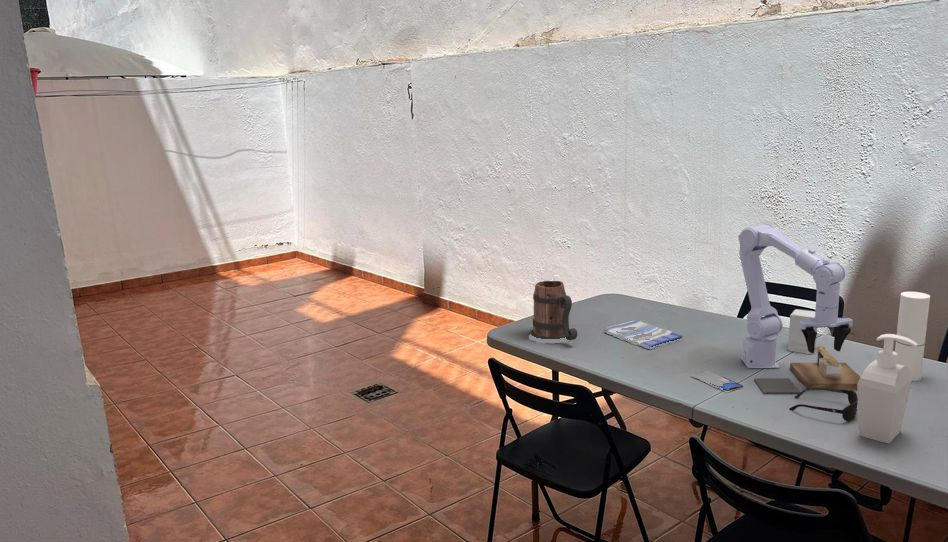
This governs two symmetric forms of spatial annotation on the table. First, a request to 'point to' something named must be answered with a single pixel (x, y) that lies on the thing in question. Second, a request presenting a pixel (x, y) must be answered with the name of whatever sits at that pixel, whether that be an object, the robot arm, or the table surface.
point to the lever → (828, 356)
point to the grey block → (829, 369)
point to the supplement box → (799, 331)
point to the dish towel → (657, 333)
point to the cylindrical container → (912, 331)
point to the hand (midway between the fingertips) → (823, 351)
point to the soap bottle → (884, 393)
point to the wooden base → (816, 380)
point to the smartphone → (729, 385)
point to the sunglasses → (847, 412)
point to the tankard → (552, 312)
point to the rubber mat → (776, 386)
